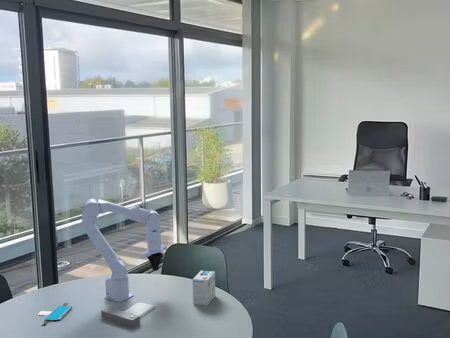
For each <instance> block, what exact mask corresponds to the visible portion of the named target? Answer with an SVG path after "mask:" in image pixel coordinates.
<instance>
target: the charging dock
mask: <svg viewBox="0 0 450 338" xmlns="http://www.w3.org/2000/svg"><path fill="white" fill-rule="evenodd" d="M125 311H126V310H120V309H117V308H114V307H112V306H108V307H106V308H104V309H101V310H100V314H101V316H100V317H101V319H104V320H107V321H109V322H113V323H116V324H118V325H121V326H122V325H123V326H126V327H128V328H131V329H133V328H135V327H137V326H139V325H140V324H141V318H140V316H138V315H135V314H131V313H128V312H125Z"/></svg>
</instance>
